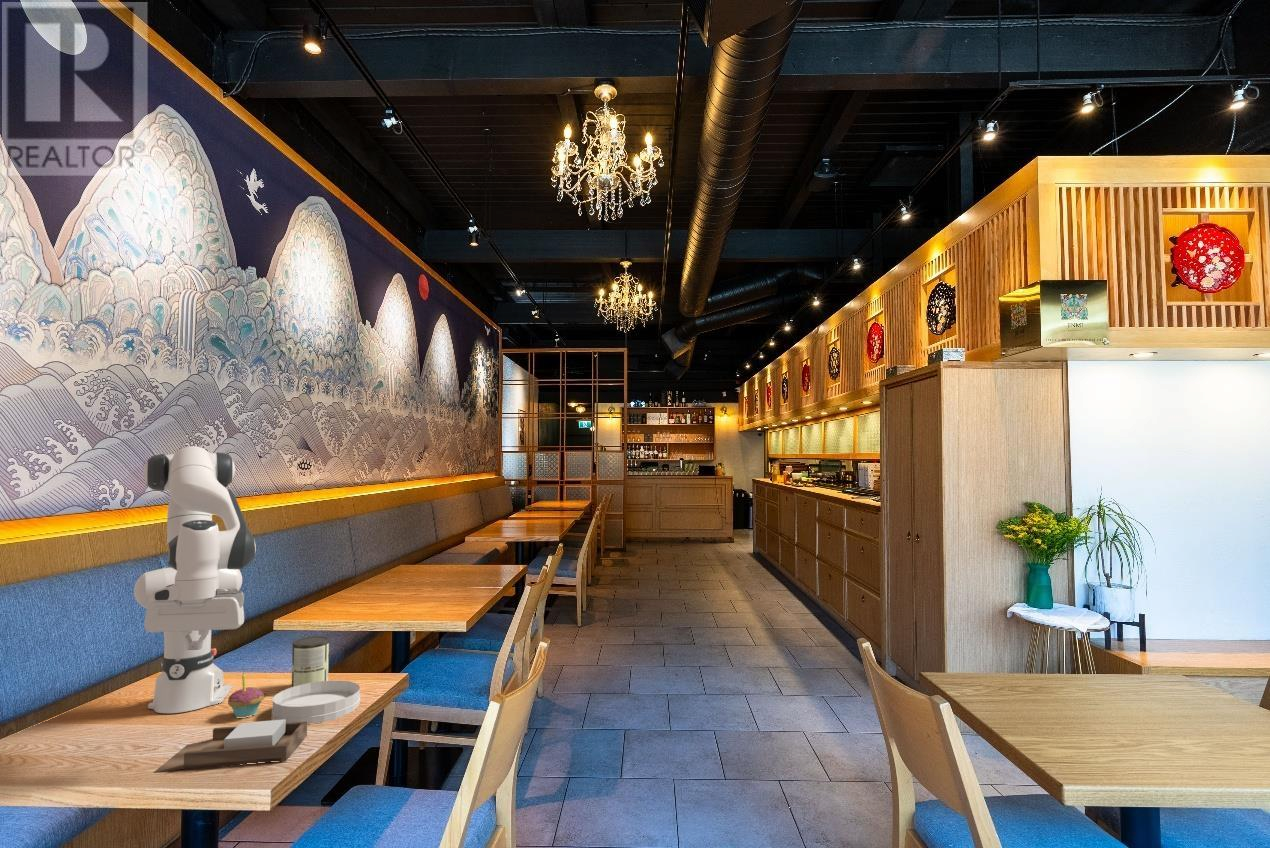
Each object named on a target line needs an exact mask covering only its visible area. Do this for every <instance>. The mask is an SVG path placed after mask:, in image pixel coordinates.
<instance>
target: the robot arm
mask: <svg viewBox="0 0 1270 848" xmlns="http://www.w3.org/2000/svg"><path fill="white" fill-rule="evenodd" d="M142 474H143V479H144V481H145V483H146V485H147V487H148V488H149V489H151V490H153V491H159V492H163V491H168V492H169V501H168V506H167V517H166V521H167V522H166V523H167V524H166V526H167V527H166V544H167V547H168V548H169V549H168V561H167V563H166V565H167V566H169V567H163V568H158V569H154V570H151V571H146V572H144V573H142V574H141V575H140V576H139V577H138V578H137V580H136V582H135V584H134V587H133V595H134V599H135V601H136V602H137V604H138V605H140V606H141V607H142V608H144V609H145V616H144V626H143V627H144V629H145V631H146V632H147V633H163V644H164V645H163V646H164V647H163V649H164V650H163V656H162V658H161V661H160V662H161V664H160V665H161V667H160V669H161V671H162V672H161V673H160V674H159V675H158V676H157V677H156V678H155V685H154V694H153V699H152V700H153V701H151V702H149V703H148V705H147V708H148V709H151V710H153V711H154V712H155V713H158V714H179V713H185V712H190V711H195V710H199V709H203V708H206V707H209V706H215V705H218V703H219V704H222V703H223V702H224V701H225V699H226V698H225V697H228V695H229V693H230V692H231V690H232V689H233V687H232V686H233V685H232V684H227V683H226V684H225V683H224V671H223V670H222V669H221V668H219V667H218V666H217V665H216V664H215V663H214V662H215V661H214V657H215V656H216V655H217V648H212V647H211V645H212V631H216V630H217V631H218V630H223V631H224V630H236V629H238V628H240V627H241V626H242V625H244V622H245V609H244V604H245V594H244V592H243V591H241V587H242V584H243V576H242V575H243V574H242V572H241V570H243V569H245V568H246V567H247V566H248V565H249V564H251V563H252V562H253V561H254V559H255V556H256V551H257V544H256V540H255V538H254V536H253V533H252V532H251V530H250V529H249V527H248V525H247V522H246V520H245V517H244V515H243V512H242V510H241V507H240V504H239V502H238V501H237V497H236V496H235V494H234V492H233V491H232V489H230V488H228V486H229V485H230V484H231V483H232V482H233V479H234V478H235V476H236V475H235V474H236V465H235V462H234V460H233V458H232V456H231V455H230V454H228V453H225V452H218V451H217V452H209V451H207V449H205V448H203V447H200V446H197V445H191V446H190V445H189V446H185V447H182V448H180V449H178V450H177V451H176V452H175V453H169V454H165V453H160V454H159V453H158V454H155V455H152V456H151V457H149V458H148V459H147V462H146V463H145V465H144V468H143V473H142ZM213 516H217V517H218V518H220V519H221V520H223V524H224V526H225V529H226V530H220V529H219V525H218V523H217V522H215V521H213ZM231 688H232V689H231ZM230 689H231V690H230ZM229 691H230V692H229ZM227 694H228V695H227ZM224 698H225V699H224ZM223 700H224V701H223ZM222 701H223V702H222ZM221 702H222V703H221Z"/></svg>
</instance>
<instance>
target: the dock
mask: <svg viewBox="0 0 1270 848" xmlns="http://www.w3.org/2000/svg"><path fill="white" fill-rule="evenodd" d="M237 726H238V725H237ZM237 726H222V727H215V728H213V729H212V739H211V738H210V739H206V740H201V741H198V742H193V743H189V744H186V745H185V746H183V748H181V749H180V750H179V751H177V753H175V754H174V755H173V756H171V759H170V758H169V759H168V760H167V761H165V762H164V763H163V764H162V765H160V766H159V767H158V768H157V769H156V770H155V771H153V773H164V772H165V773H166V772H174V771H177V770H182V769H183V771H188V770H190V771H191V770H199V769H200V770H201V769H211V768H224V767H223V766H228V767H231V766H230V765H240V764H247V763H258V762H271V761H286V760H287V759H288V758H291V756H292V755H293V754H294V753H295V752H296V750H297V749H298V748H299V746H300V745H301V743H303V742H304V740H305V739H306V738H307V737H308V725H307V721H306V722H292V723H286V728H285V734H284V736H283V737H282V738H281V739H280V741H279V742H278V743H277V745H269V746H256V747H243V748H230V749H224V739H225V738H226V737H227V736H228V735H229V734H230V733H231V732H232V731H233V730H234V729H235V728H236V727H237ZM305 737H306V738H305ZM288 760H289V759H288ZM288 760H287V761H288ZM287 761H286V762H287ZM240 766H241V765H240Z"/></svg>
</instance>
